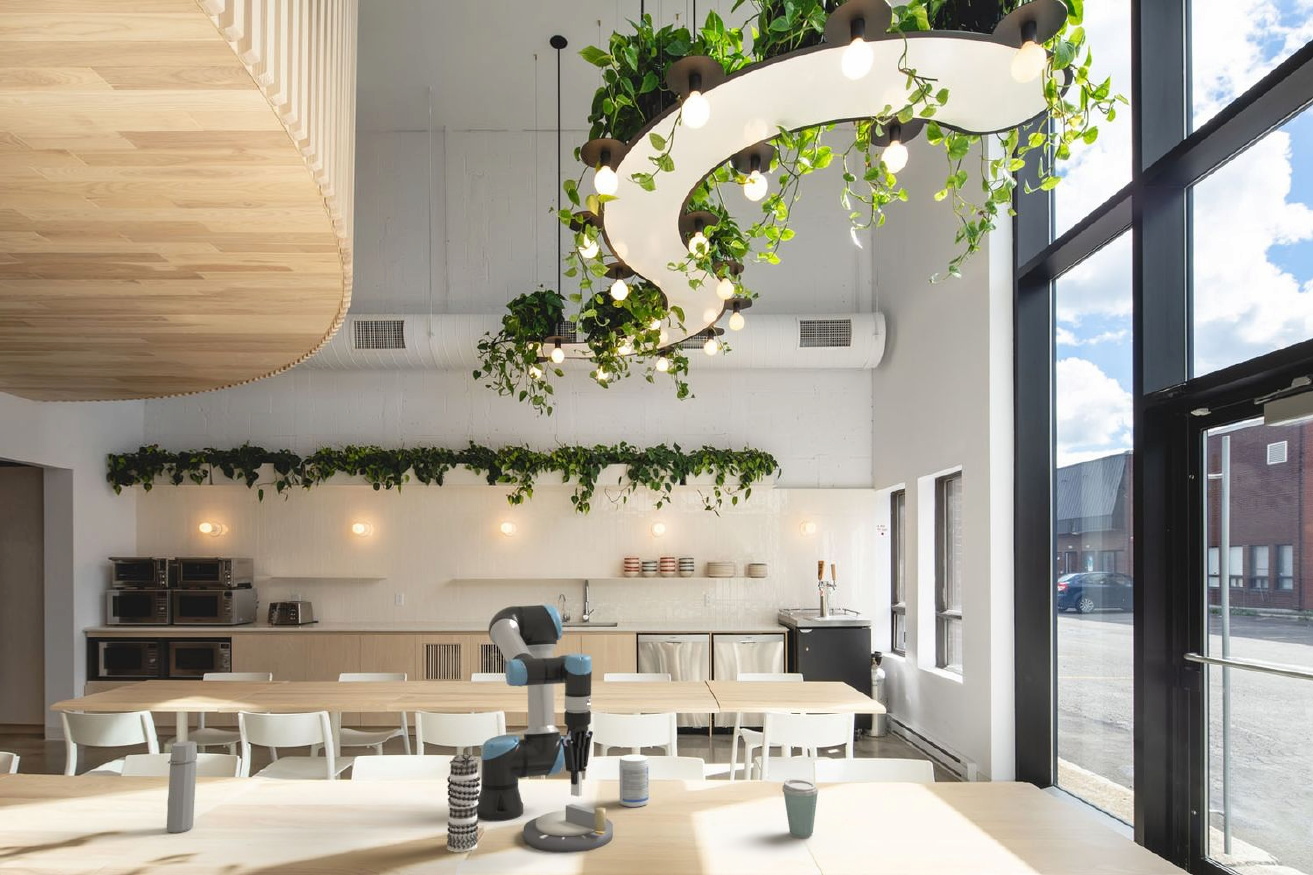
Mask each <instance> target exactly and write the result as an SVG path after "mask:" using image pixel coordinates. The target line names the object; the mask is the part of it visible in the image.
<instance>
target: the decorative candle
mask: <svg viewBox="0 0 1313 875" xmlns="http://www.w3.org/2000/svg"><path fill="white" fill-rule="evenodd" d="M478 763H479V759H476V757H475V755H473V754H470V753H469V754H468V753H467V754H466V753H465V754H464V753H463V754H457V755H455V756H454V757H453V759H452V760H450V761H449V764H450V773H449V775H448V777H447V780H446V781H447V782H448V784H447V789H448V790H447V795H448V796H449V797H448V798H447V801H448V804H447V806H448V807H449V814H448V822H447V832H448V834H446V837H447V841H446V843H447V846H446V849H447V850H448V851H449V850H451V851H460V852H459V853H464V852H463V851H468V852H470V851H469V850H472V851H475V850H476V849H477V848H478V842H479V840H478V837H479V836H478V835H479V833H478V829H479V826H478V823H479V820H478V817H477V812H476V811H477V805H478V799H479V795H478V794H480V790H479V789H478V787H481V783H480V782H479V781H481V776H480V777H479V771H478V770H479V769H478ZM451 851H450V852H451Z"/></svg>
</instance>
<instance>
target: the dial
mask: <svg viewBox="0 0 1313 875" xmlns="http://www.w3.org/2000/svg"><path fill="white" fill-rule="evenodd" d="M536 818H537V819H536V829H537V830H538V831H539V832H541V833H544V834H548V835H553V836H578V835H584V834H588V833H592V832H594V831H598V832H602V831H605V830H606V819H607V808H605V807H596V808H594V809H592V808H587V807H584V806H581V805H578V804H574V803H570V804H567V805H565V810H557V811H552V812H548V813H545V814H542V815H540V816H538V817H536Z"/></svg>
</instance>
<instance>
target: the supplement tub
mask: <svg viewBox="0 0 1313 875" xmlns="http://www.w3.org/2000/svg"><path fill="white" fill-rule="evenodd" d="M618 762H619V765H618V766H619V768H618V770H619V803H620V804H621V805H622V806H624V807H630V808H637V807H643V806H645V805H647V804H649V802H650V801H649V798H650V797H649V792H650V791H649V759H648V756H646V755H644V754H626V755H622V756H620V757H619V761H618Z"/></svg>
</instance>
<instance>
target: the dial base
mask: <svg viewBox="0 0 1313 875" xmlns="http://www.w3.org/2000/svg"><path fill="white" fill-rule="evenodd" d="M537 818H538V817H535V818H533V819H531V820H529V821H527V822H526V823H525V824H524V826H523V837H522V838H524V839H523V842H524V843H525V844H526V845H527V846H528V845H529V846H528V847H531V848H533V849H535V850H539V851H543V852H551V853H577V852H579V853H580V852H585V851H590V850H595V849H599V848H601V847H604V846H605V845H607V844H609V843H610V842H611V841H613V838H614V836H613V834H614V833H613V830H614V824H613V823H612V821H611V820H609V819H608V818H606V830H605V831H602V832H598V831H594V832H592V833H588V834H584V835H578V836H553V835H548V834H544V833H541V832H539V831H538V830H537V829H536V819H537ZM612 837H613V838H612Z"/></svg>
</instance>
